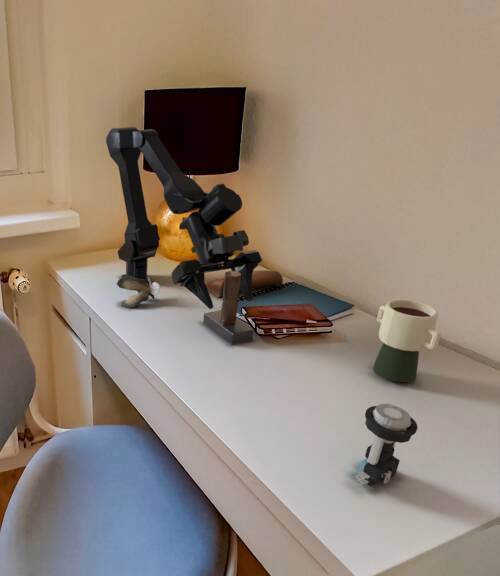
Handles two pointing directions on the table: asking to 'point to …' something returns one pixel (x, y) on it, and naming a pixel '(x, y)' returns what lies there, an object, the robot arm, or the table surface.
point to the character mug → (404, 338)
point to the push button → (384, 442)
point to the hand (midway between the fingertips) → (231, 304)
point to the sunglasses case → (258, 280)
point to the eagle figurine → (139, 286)
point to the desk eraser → (229, 314)
